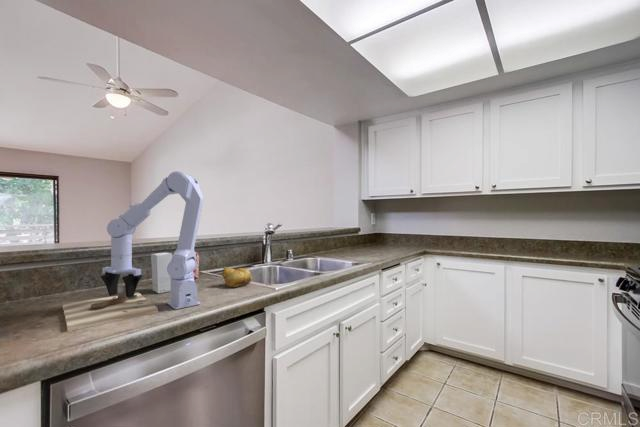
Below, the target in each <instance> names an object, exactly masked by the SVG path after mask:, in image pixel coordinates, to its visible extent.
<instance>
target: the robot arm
mask: <svg viewBox="0 0 640 427" xmlns="http://www.w3.org/2000/svg"><path fill="white" fill-rule="evenodd" d="M176 194H178V195H179V196H180V197H181V199H183V200H184V202H185V206H184V211H183V217H182V220H181V225H180V226H181V227H180V231H179V237H178V240H177V242H178V243H177V247H176V248H175V249H176V250H174V253H172V260H171V261H170V263H169V264H168V266H167V272H168V274H169V276H171V291H170V300H168V301H166V304H167V305H168V306H170V307H172V308H173V309H174V310H179V309H183V308H184V309H185V308H187V307H193V306H197V305H198V306H199V305H200V304H201V302H200V301H199V300H198V284H197V283H196V282H195V281H194V273H193V271H194V270H195V269H196V266H197V263H196V259H195V257H196V253H195V252H196V251H195V245H196V241H197V237H198V236H197V235H198V230H199V224H200V220H201V215H202V211H203V210H202V209H203V205H204V196H203V194H202V190H201V188H200V182H199V181H198V180H197V179H196V178H195V177H194V176H193V175H189V174H186V173H183V172H182V171H179V170H178V171H172V172H171V173H169V175H168V176H166V177H164V178H163V180H162V181H161V183H160V184H159V185H158V186H157V187H156V188H155V189H154V190H153V191H152V192H151V193H150V194H149V195H148V196H147V197H146V198H145V199H144V200H143V201H142V202H137V203H132V204H131V205H129V209H127V210H126V211H125V212H124V213H123V214H120V215H119V216H118V218H116V219H111V220H110V221H109V222H108V224H107V226H106V231H107V234H108V235H109V236H110V249H111V250H110V266H105V267H102V274H103V275H100V278H101V280H102V281H103V283H104V284H105V287H106V289H107V294H108V297H111V296H117V295H118V284H119V280H120V277H121V275H125V276H122V277H121V278H122V280H123V284H125V287H126V296H127V298H129V297H132V296H134V294H135V292H136V290H137V286H138V285H139V282H140V281H141V278H142V277H143V275H142V269H141V268H137V267H133V264H132V263H133V254H132V253H133V249H132V247H133V244H132V241H133V235H134V234H135V232H136V230H137V227H138V226H139V225H140V224H141V223H143V222H144V221H145V220H146V219H147V218H148V217H150V215H151V210H152V209H153V208H155V206H157V205H158V204H160V203H161V202H162V201H163V200H165V198H167V197H168V196H170V195H176Z"/></svg>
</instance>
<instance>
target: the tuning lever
mask: <svg viewBox="0 0 640 427" xmlns="http://www.w3.org/2000/svg"><path fill="white" fill-rule="evenodd" d="M117 295H118V298H115V299H112V300H108V301H104V302H100V303H94V304H91V309H99V308H102V307H104V306H108V305H111V304H115V303H118V302H122V301H126V300H128V299H131V298H134V297H137V295H134V296H132V297H129V298H127V296H126V287H125V283H123V284H119V285H118V288H117Z"/></svg>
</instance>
